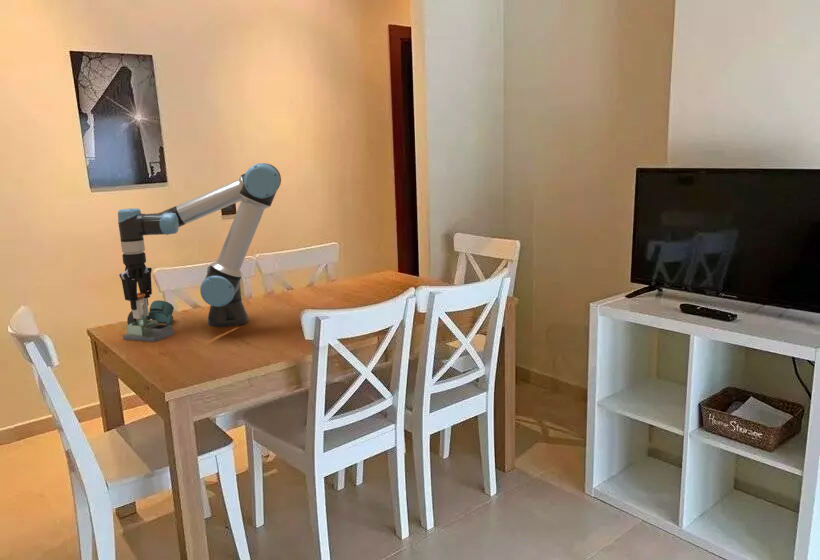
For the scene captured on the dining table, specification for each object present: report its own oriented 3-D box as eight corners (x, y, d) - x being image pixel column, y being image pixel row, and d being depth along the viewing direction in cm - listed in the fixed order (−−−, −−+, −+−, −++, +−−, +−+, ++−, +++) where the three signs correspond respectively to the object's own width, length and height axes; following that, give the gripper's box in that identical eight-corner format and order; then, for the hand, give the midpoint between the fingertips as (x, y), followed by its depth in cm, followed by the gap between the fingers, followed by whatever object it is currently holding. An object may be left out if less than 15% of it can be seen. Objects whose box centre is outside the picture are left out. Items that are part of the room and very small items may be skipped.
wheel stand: (153, 329, 241) (151, 307, 240) (138, 334, 234) (135, 312, 232) (140, 328, 244) (138, 306, 242) (125, 333, 236) (122, 311, 235)
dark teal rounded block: (178, 306, 249) (172, 326, 244) (167, 314, 254) (161, 333, 249) (156, 296, 244) (150, 316, 239) (146, 305, 250) (139, 324, 244)
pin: (151, 325, 233) (147, 292, 230) (142, 328, 228) (138, 295, 226) (141, 324, 234) (138, 292, 232) (132, 327, 230) (129, 294, 228)
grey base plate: (174, 334, 233) (172, 320, 232) (154, 341, 224) (153, 328, 223) (143, 331, 238) (142, 318, 237) (123, 339, 229) (121, 325, 228)
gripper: (142, 248, 235) (149, 310, 239) (107, 256, 220) (115, 322, 224) (158, 249, 232) (165, 312, 237) (124, 256, 217) (132, 323, 222)
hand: (141, 316), depth 231 cm, fingers closed on pin, 3 cm apart
